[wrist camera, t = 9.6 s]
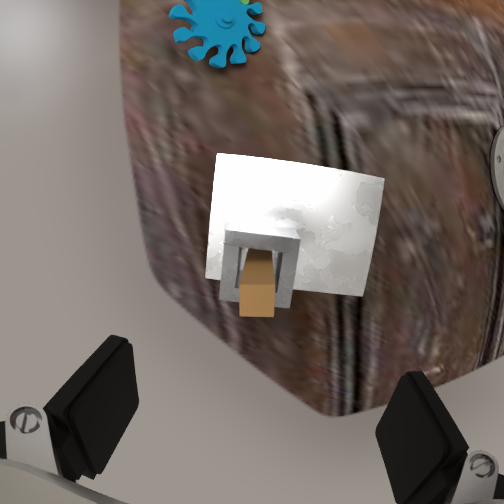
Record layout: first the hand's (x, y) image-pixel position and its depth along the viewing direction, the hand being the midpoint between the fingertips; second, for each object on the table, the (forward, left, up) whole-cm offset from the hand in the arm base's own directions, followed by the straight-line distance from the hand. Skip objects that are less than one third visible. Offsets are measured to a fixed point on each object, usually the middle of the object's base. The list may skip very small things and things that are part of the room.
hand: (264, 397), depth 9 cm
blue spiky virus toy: (+6, -22, -21) cm, 31 cm away
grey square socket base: (-2, -3, -21) cm, 21 cm away
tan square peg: (0, +1, -20) cm, 20 cm away
